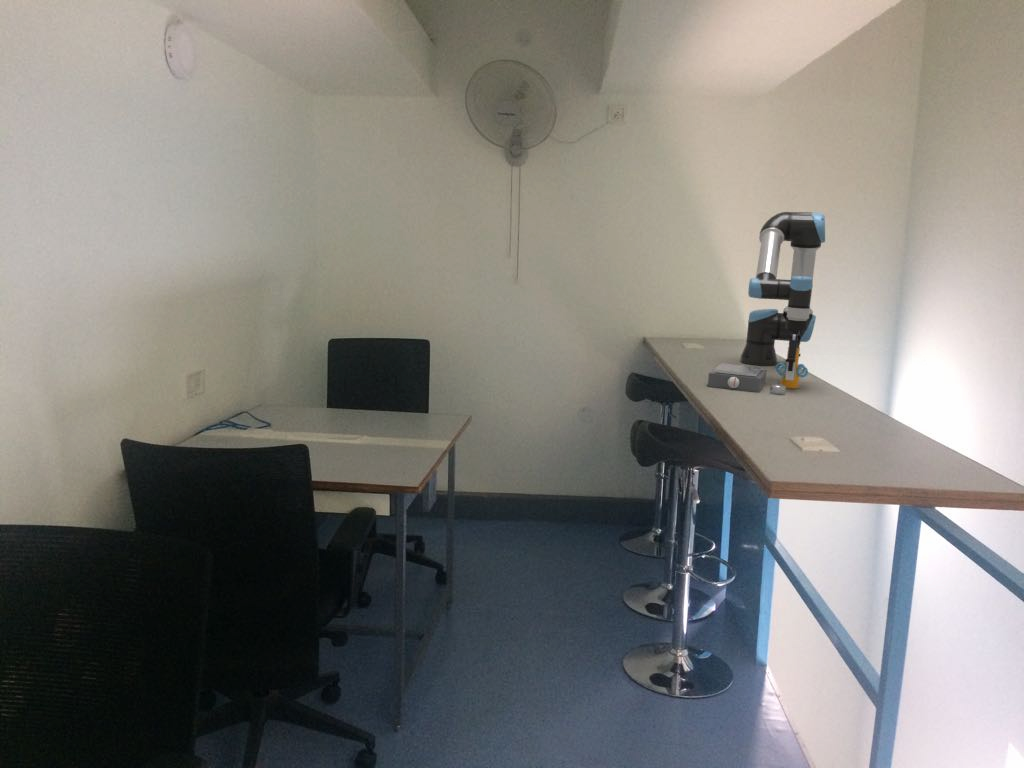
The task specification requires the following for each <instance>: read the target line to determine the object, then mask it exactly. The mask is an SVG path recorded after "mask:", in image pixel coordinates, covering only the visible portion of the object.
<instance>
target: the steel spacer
mask: <svg viewBox="0 0 1024 768" xmlns="http://www.w3.org/2000/svg"><path fill="white" fill-rule="evenodd" d="M769 387H770V389H769V394H771V395H776V396H785V394H786V389H787V388H786V386H785V385H781V383H772V384H770V386H769Z"/></svg>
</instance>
